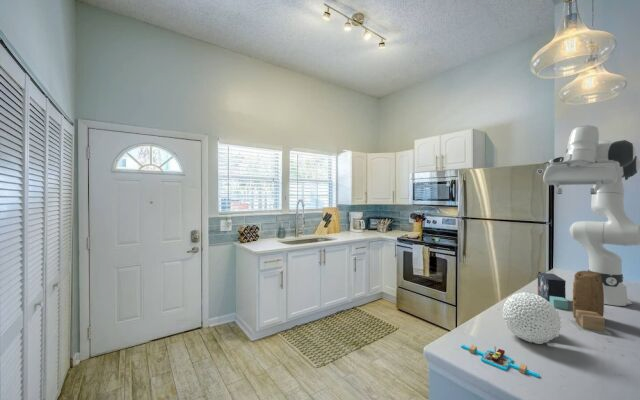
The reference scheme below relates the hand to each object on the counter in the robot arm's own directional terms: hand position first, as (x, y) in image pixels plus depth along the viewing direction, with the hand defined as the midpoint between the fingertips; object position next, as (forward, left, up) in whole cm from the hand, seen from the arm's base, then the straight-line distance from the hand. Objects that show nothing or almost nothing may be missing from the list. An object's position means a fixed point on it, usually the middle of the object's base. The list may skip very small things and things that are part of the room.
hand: (575, 193), depth 100 cm
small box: (-37, +4, -52) cm, 64 cm away
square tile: (-4, +6, -52) cm, 52 cm away
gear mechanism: (+34, -29, -52) cm, 69 cm away
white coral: (+12, -17, -52) cm, 56 cm away
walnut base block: (-4, +6, -50) cm, 51 cm away
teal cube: (-24, +3, -52) cm, 57 cm away
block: (-14, +9, -52) cm, 54 cm away
